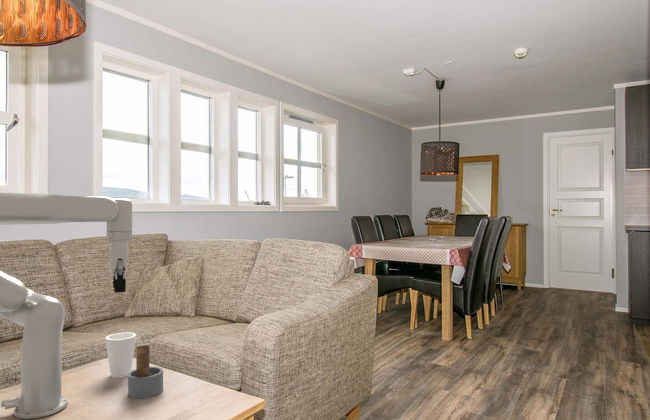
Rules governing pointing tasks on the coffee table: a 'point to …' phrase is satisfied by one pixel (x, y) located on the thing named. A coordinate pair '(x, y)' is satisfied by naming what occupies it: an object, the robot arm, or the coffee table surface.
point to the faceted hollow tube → (145, 384)
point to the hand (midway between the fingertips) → (119, 289)
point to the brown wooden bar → (142, 360)
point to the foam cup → (120, 353)
